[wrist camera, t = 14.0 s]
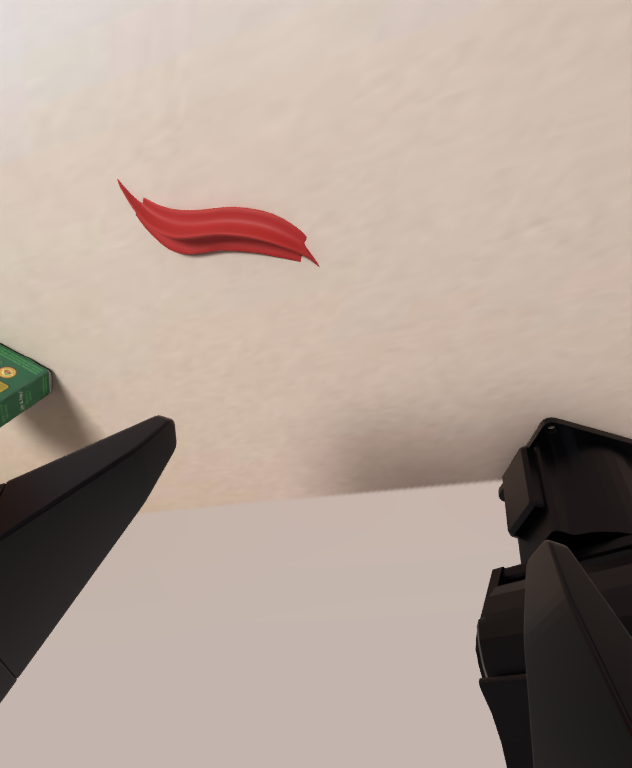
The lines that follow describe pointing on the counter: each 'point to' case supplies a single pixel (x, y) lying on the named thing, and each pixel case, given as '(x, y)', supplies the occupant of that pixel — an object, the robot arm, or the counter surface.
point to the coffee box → (20, 384)
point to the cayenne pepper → (221, 230)
